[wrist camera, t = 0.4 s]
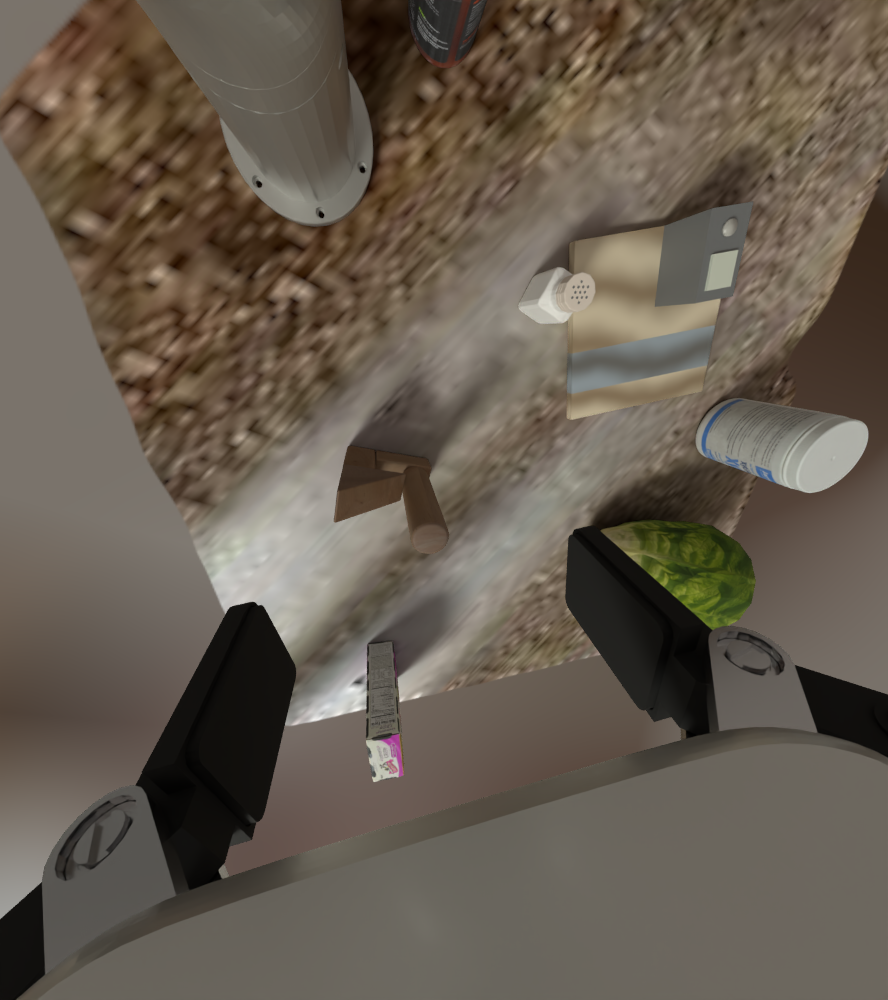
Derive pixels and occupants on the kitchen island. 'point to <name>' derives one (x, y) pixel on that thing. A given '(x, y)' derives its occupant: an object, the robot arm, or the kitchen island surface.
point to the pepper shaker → (557, 295)
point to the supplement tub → (782, 442)
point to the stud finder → (702, 255)
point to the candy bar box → (383, 713)
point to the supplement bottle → (444, 28)
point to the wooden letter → (392, 493)
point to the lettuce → (692, 565)
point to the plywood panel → (632, 329)
